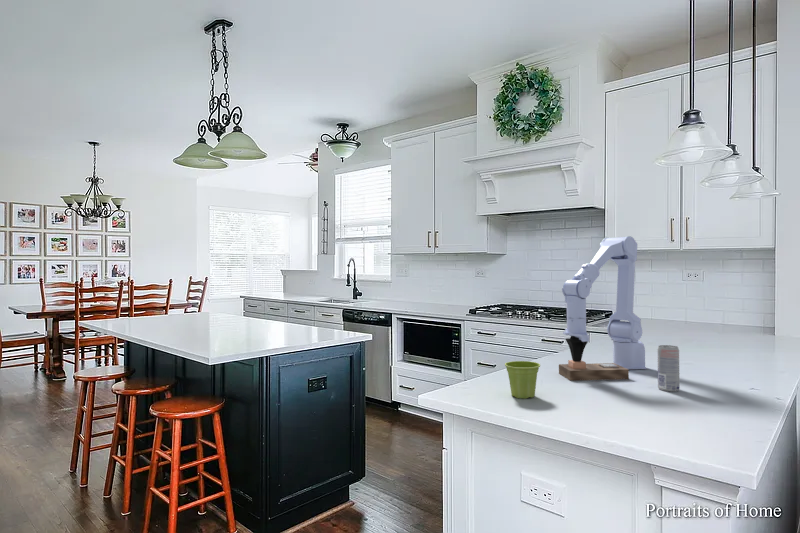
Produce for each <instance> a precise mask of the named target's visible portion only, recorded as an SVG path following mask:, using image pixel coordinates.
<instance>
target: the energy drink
mask: <svg viewBox="0 0 800 533" xmlns="http://www.w3.org/2000/svg"><path fill="white" fill-rule="evenodd" d="M657 388H658V389H659V390H660V391H663V392H672V393H673V392H678V391H680V388H681V387H680V349H679V347H678V345H670V344H669V345H668V344H665V345H664V344H661V345H660V344H659V345H658V347H657Z"/></svg>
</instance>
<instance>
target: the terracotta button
mask: <svg viewBox="0 0 800 533" xmlns="http://www.w3.org/2000/svg"><path fill="white" fill-rule="evenodd" d="M567 362H568V363H567V364H568V367H570V368H571V369H586V364H587V362H586V361H584V360H583V359H581V362H574V361H573V360H572V359H569V360H568V361H567Z"/></svg>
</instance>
